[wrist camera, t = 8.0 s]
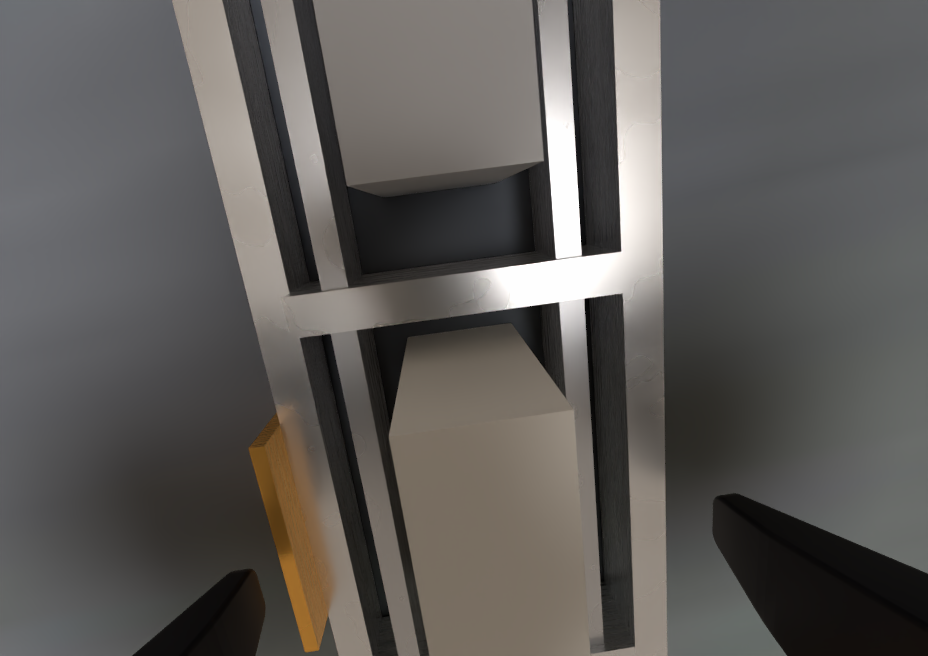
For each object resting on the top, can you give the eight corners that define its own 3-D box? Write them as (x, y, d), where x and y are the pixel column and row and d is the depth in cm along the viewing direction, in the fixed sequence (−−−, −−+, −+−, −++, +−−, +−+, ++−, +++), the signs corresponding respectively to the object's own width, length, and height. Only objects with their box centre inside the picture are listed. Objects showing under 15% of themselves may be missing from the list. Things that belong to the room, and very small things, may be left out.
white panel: (510, 321, 11) (574, 409, 6) (534, 560, 13) (598, 776, 8) (407, 336, 11) (388, 436, 6) (446, 574, 13) (457, 800, 8)
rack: (600, -305, 8) (669, -518, 6) (632, 599, 13) (675, 682, 11) (125, -263, 8) (-8, -470, 5) (348, 645, 13) (330, 741, 10)
